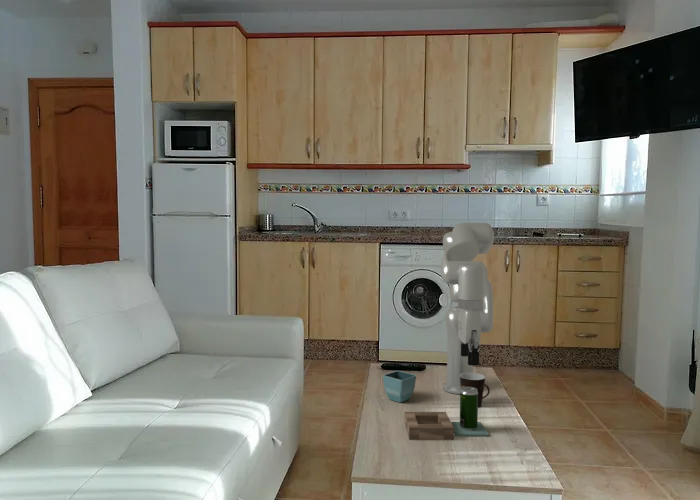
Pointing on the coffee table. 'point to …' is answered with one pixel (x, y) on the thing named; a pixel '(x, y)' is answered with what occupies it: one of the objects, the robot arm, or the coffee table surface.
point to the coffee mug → (474, 384)
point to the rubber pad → (460, 432)
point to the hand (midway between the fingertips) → (469, 360)
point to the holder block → (428, 426)
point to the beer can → (468, 408)
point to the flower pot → (399, 385)
